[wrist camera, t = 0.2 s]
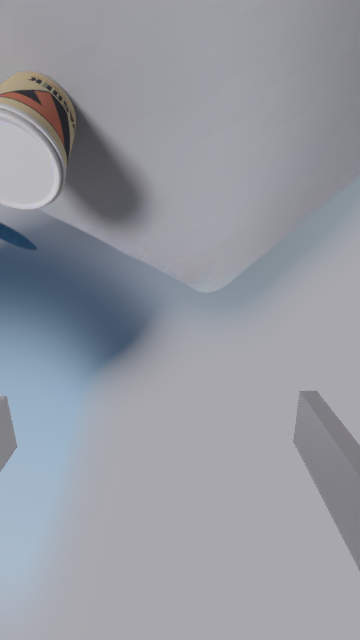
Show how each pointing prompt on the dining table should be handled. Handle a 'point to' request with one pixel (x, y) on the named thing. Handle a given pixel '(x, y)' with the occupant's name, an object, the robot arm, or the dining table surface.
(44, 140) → the coffee cup
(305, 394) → the robot arm
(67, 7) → the dining table surface
